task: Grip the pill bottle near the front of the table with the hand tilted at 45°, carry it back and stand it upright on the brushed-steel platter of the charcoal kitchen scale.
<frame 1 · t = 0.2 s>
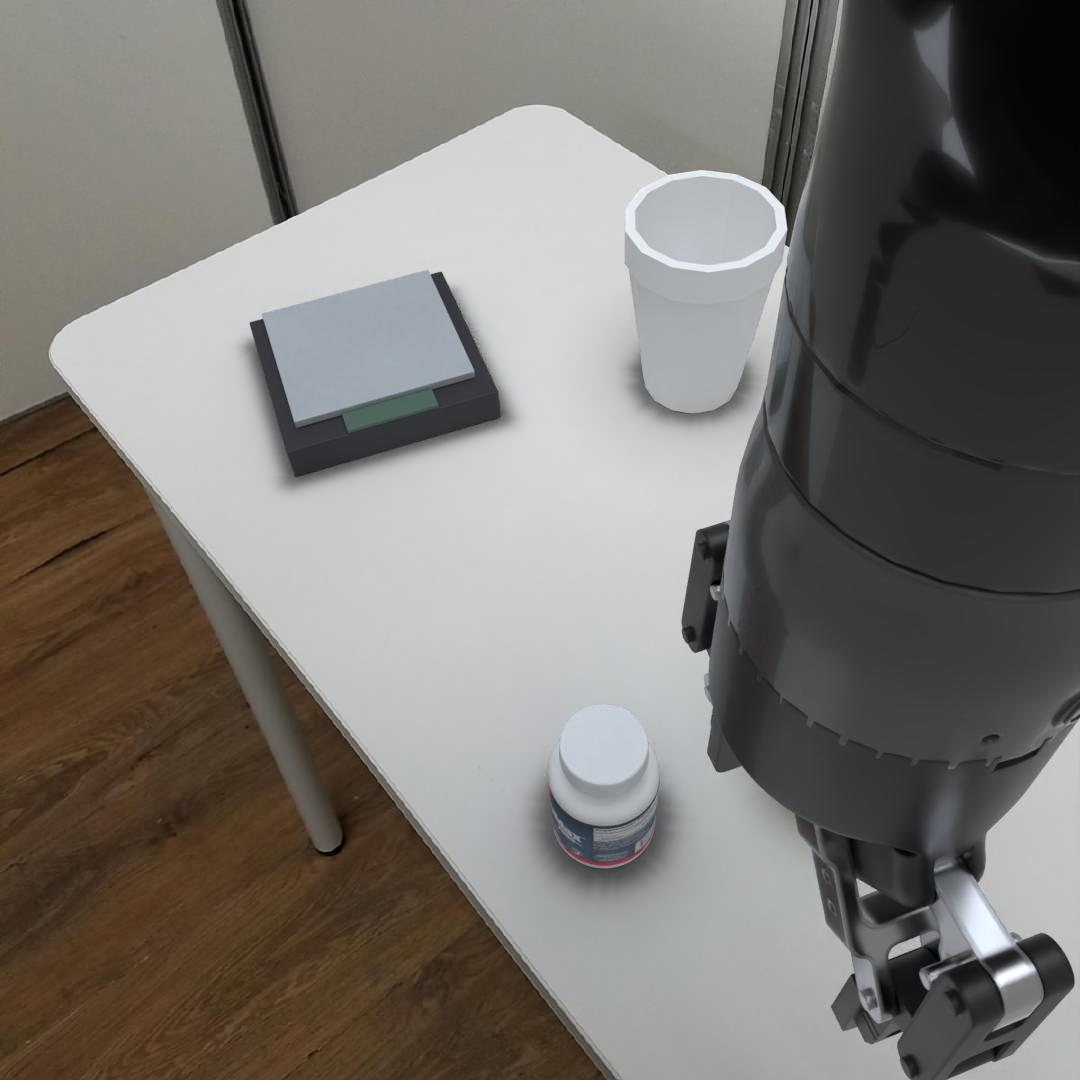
hand: (799, 874, 34), 19 cm above the table, tool pointing down, fingers open, 8 cm apart
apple: (851, 772, 57), on the table
pill bottle: (603, 822, 56), on the table
foam cup: (690, 381, 74), on the table
scale: (375, 381, 76), on the table
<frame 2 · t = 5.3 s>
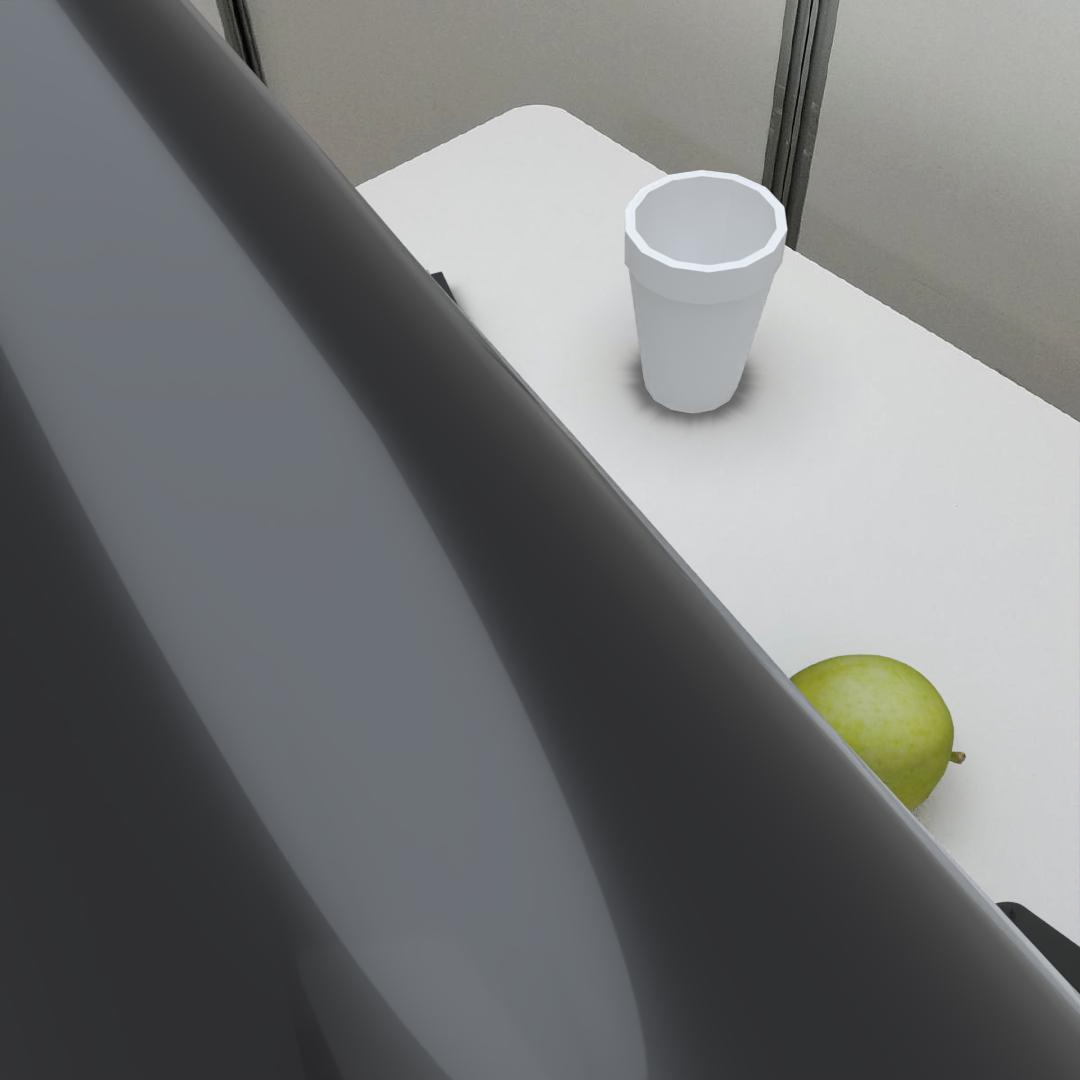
hand: (746, 954, 36), 16 cm above the table, tool tilted 45°, fingers open, 8 cm apart
nothing on the table moved.
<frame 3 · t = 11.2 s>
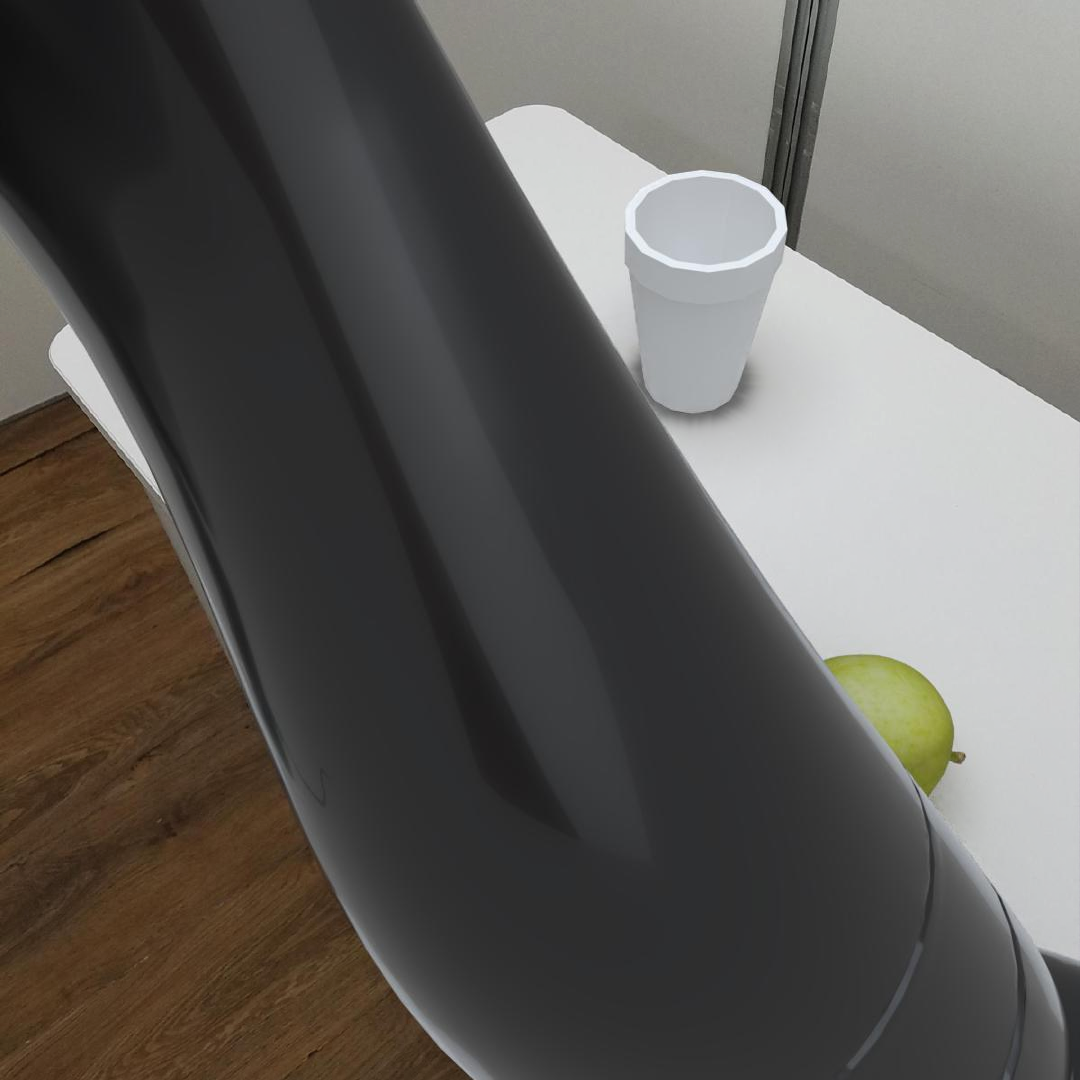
hand: (588, 744, 53), 5 cm above the table, tool tilted 45°, fingers closed on pill bottle, 5 cm apart
pill bottle: (603, 822, 56), on the table, touching gripper
everything else where it was.
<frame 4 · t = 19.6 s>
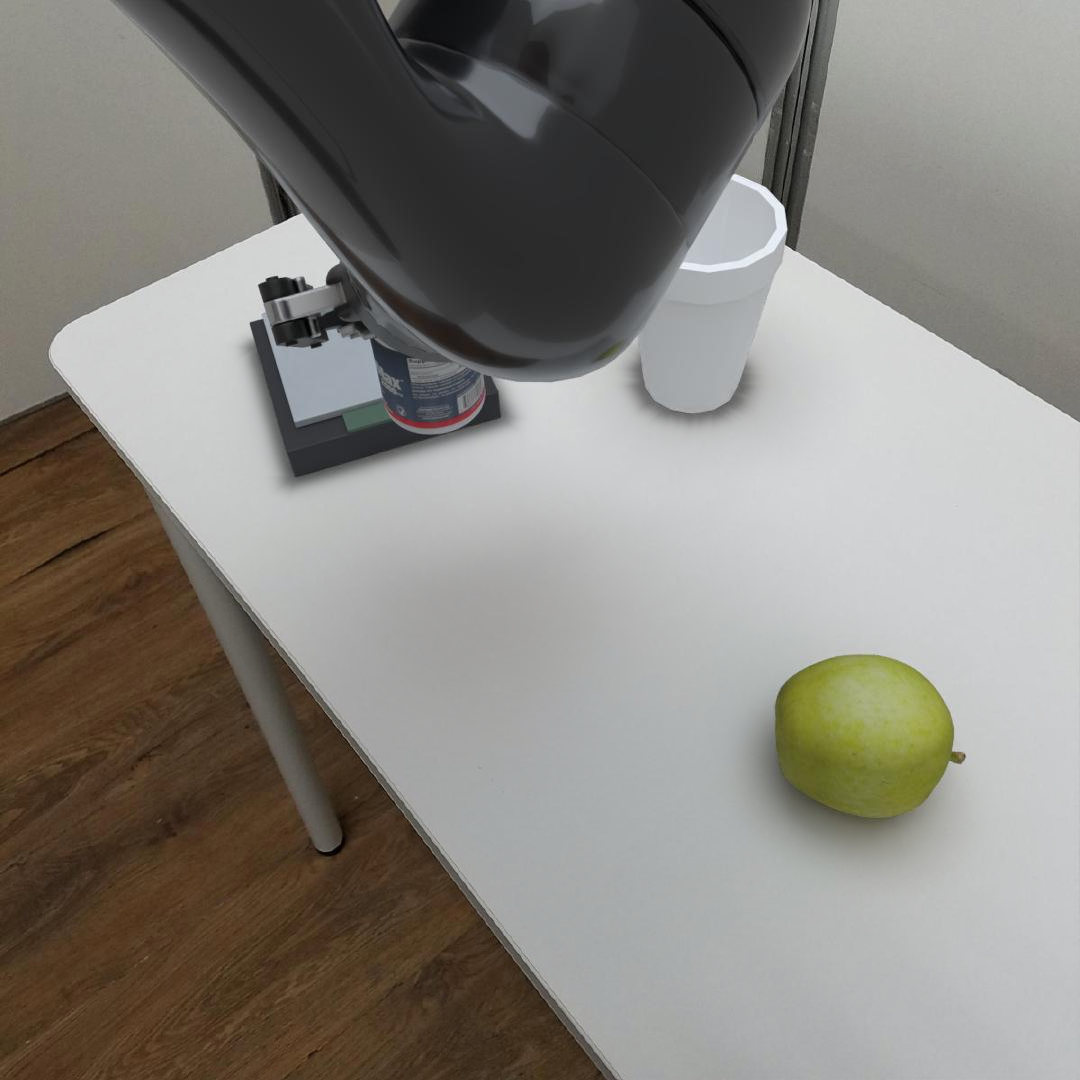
hand: (411, 300, 54), 18 cm above the table, tool tilted 45°, fingers closed on pill bottle, 5 cm apart
pill bottle: (435, 403, 57), point 12 cm above the table, touching gripper
everything else where it was.
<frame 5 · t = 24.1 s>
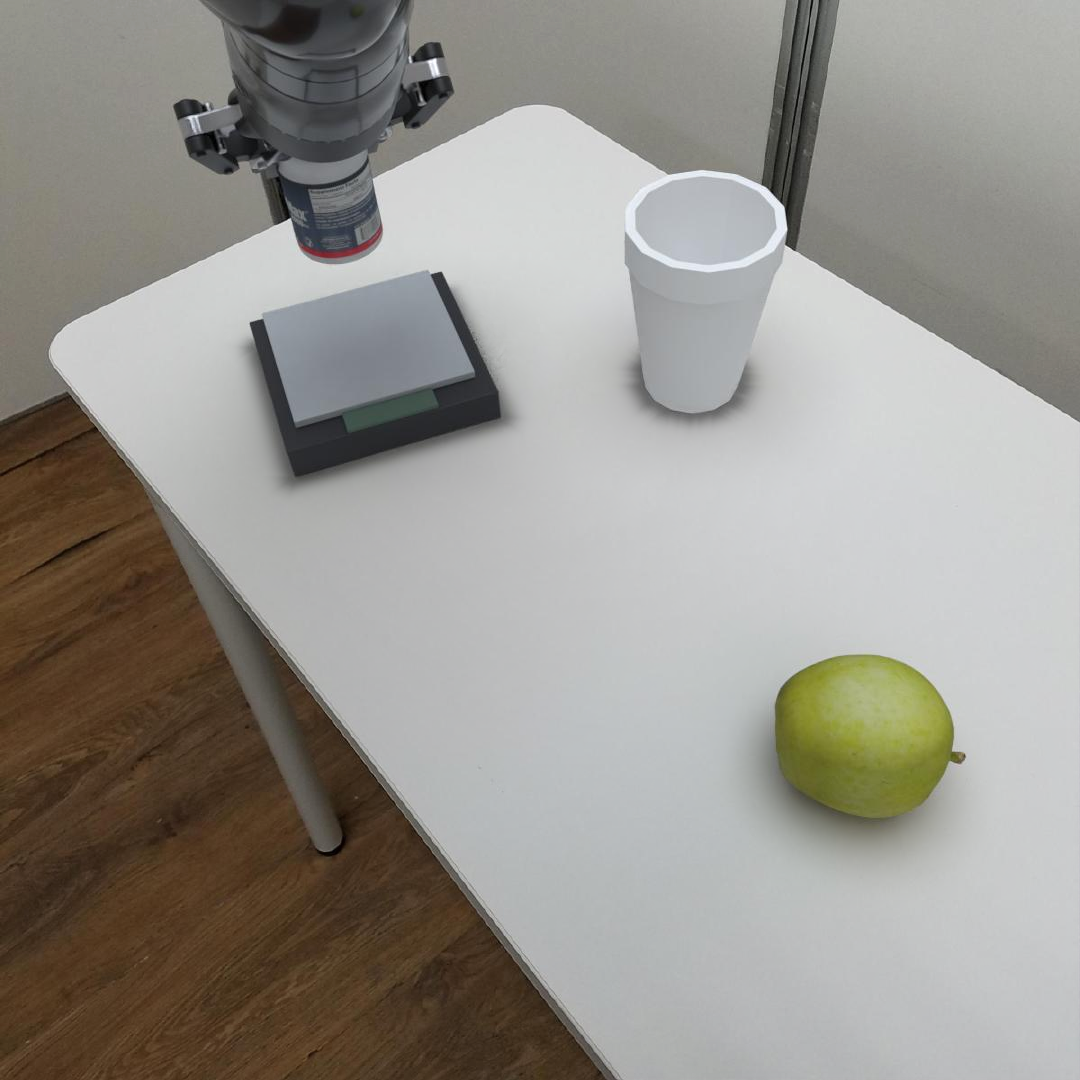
hand: (316, 148, 64), 17 cm above the table, tool tilted 45°, fingers closed on pill bottle, 5 cm apart
pill bottle: (341, 242, 67), point 11 cm above the table, touching gripper
everything else where it was.
when the fingers open (8 cm above the table, at t = 27.8 s): pill bottle stays where it is, resting on scale.
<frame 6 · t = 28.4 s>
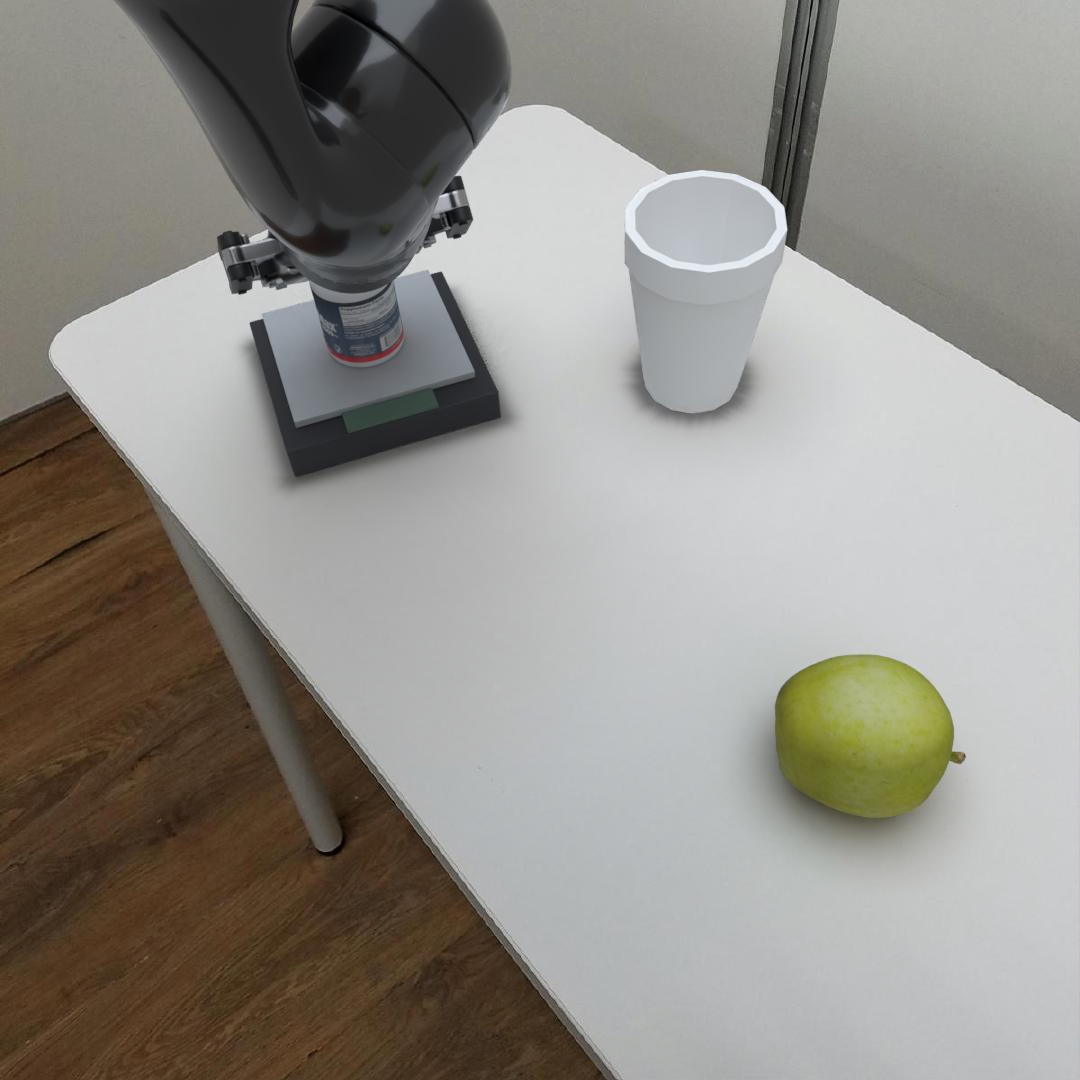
hand: (342, 255, 70), 9 cm above the table, tool tilted 45°, fingers open, 8 cm apart
pill bottle: (366, 344, 74), point 3 cm above the table, touching scale
everything else where it was.
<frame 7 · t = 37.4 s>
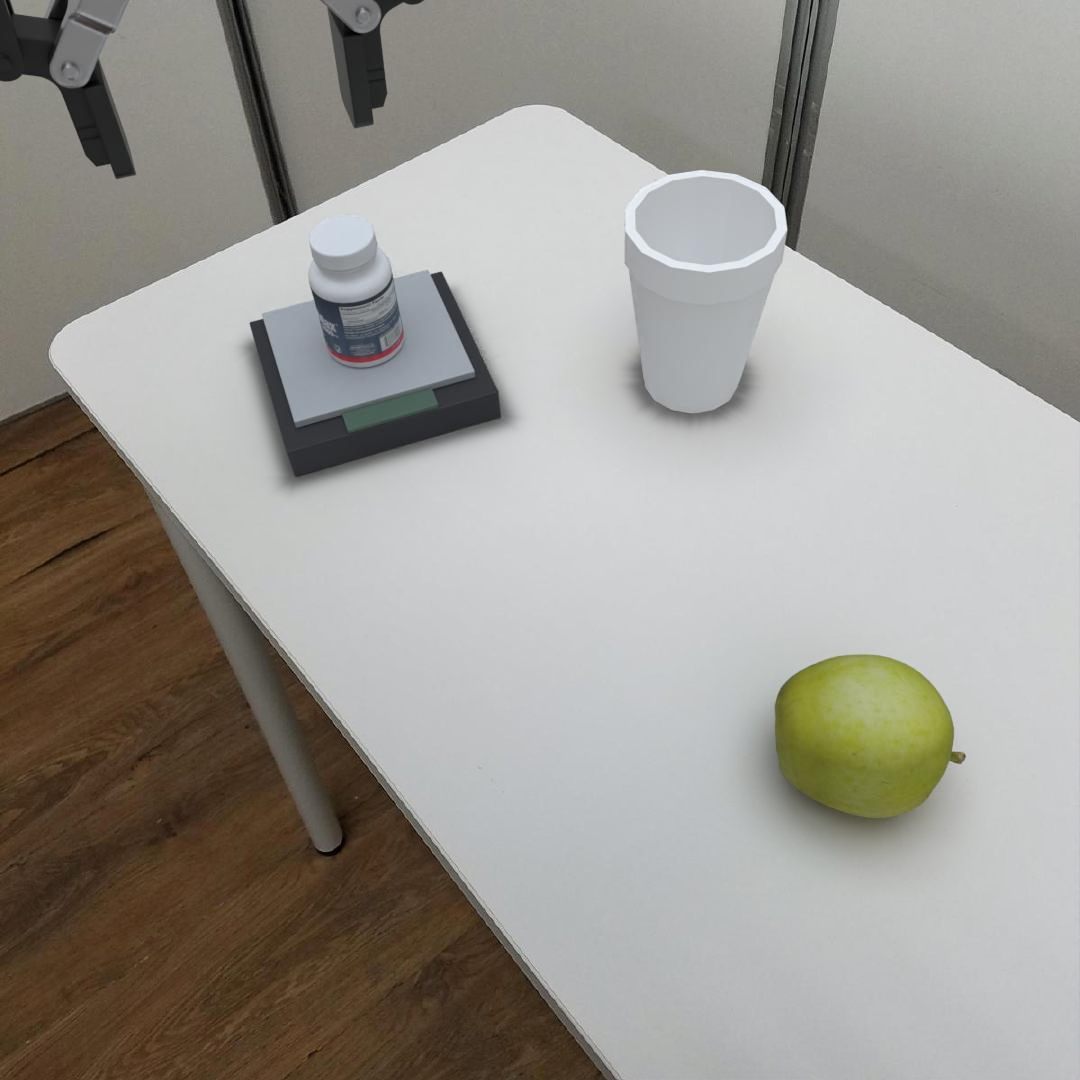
hand: (242, 139, 40), 31 cm above the table, tool pointing down, fingers open, 8 cm apart
nothing on the table moved.
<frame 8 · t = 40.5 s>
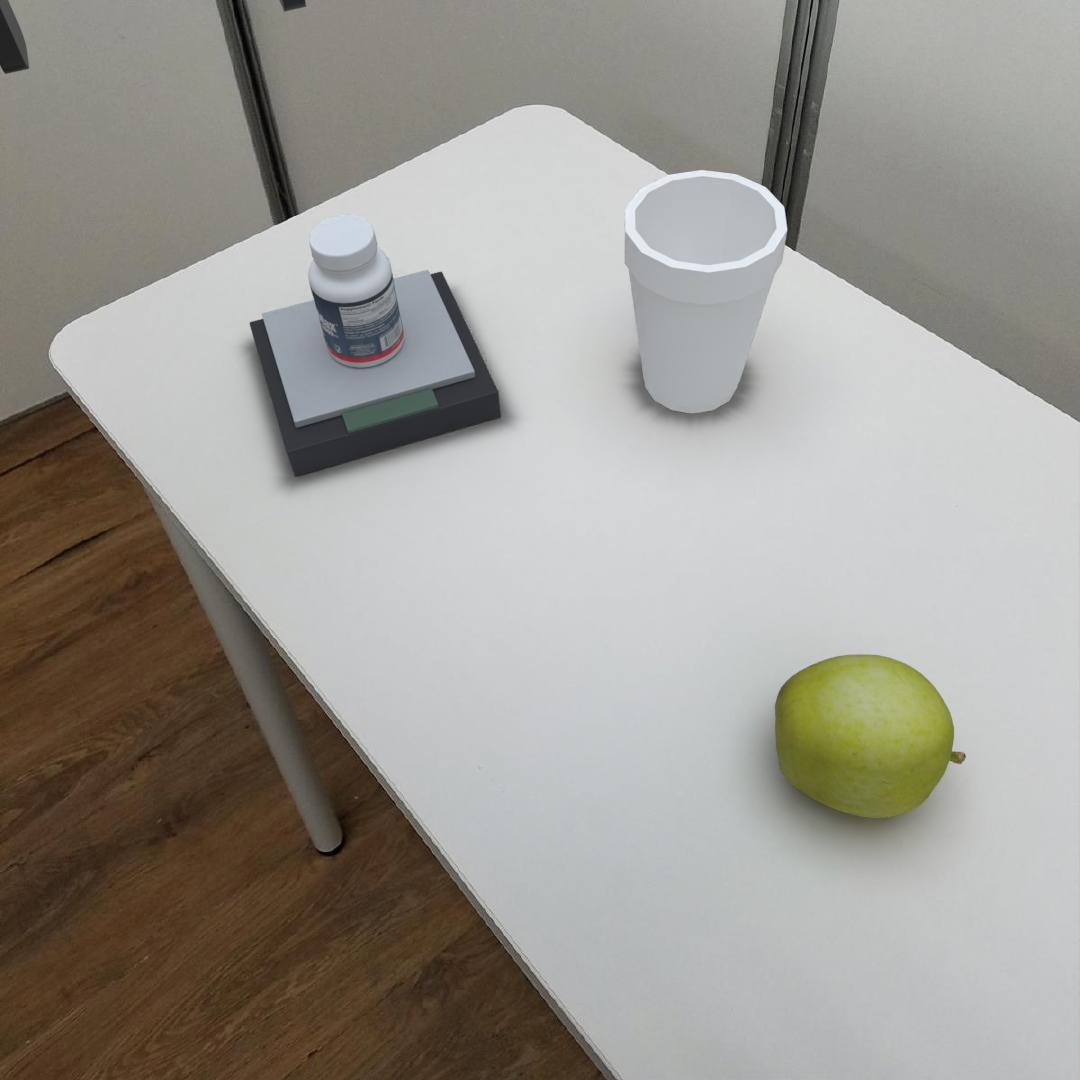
hand: (155, 28, 34), 36 cm above the table, tool pointing down, fingers open, 8 cm apart
nothing on the table moved.
at the end: pill bottle inside the target area on the scale (0.1 cm from its centre), point 2.8 cm above the scale's base; pill bottle tilted 0°; the gripper is holding nothing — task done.
